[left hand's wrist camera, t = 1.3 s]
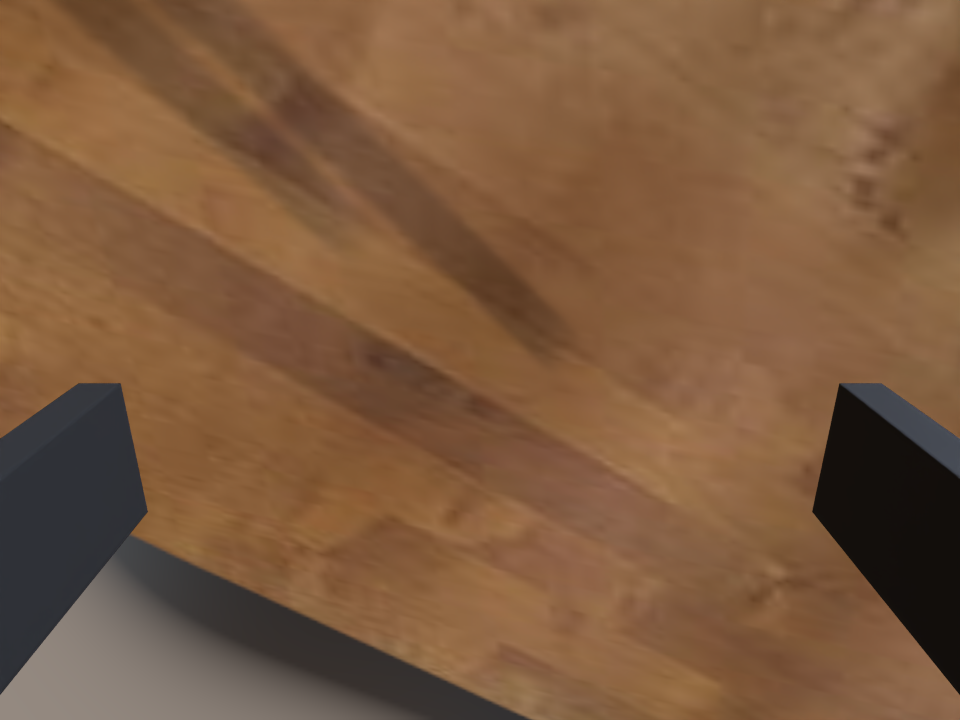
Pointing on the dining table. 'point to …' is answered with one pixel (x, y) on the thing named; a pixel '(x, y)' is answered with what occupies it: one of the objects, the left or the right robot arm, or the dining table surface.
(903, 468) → the left robot arm
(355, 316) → the dining table surface
